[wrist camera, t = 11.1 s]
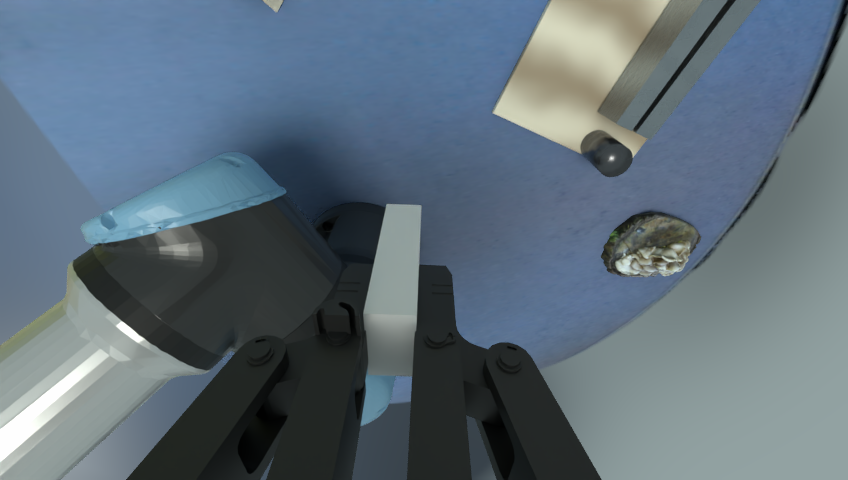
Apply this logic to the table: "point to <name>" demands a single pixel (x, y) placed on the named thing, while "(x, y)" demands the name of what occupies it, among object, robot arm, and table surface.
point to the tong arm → (658, 59)
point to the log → (650, 245)
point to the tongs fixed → (669, 90)
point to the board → (577, 68)
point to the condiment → (274, 4)
